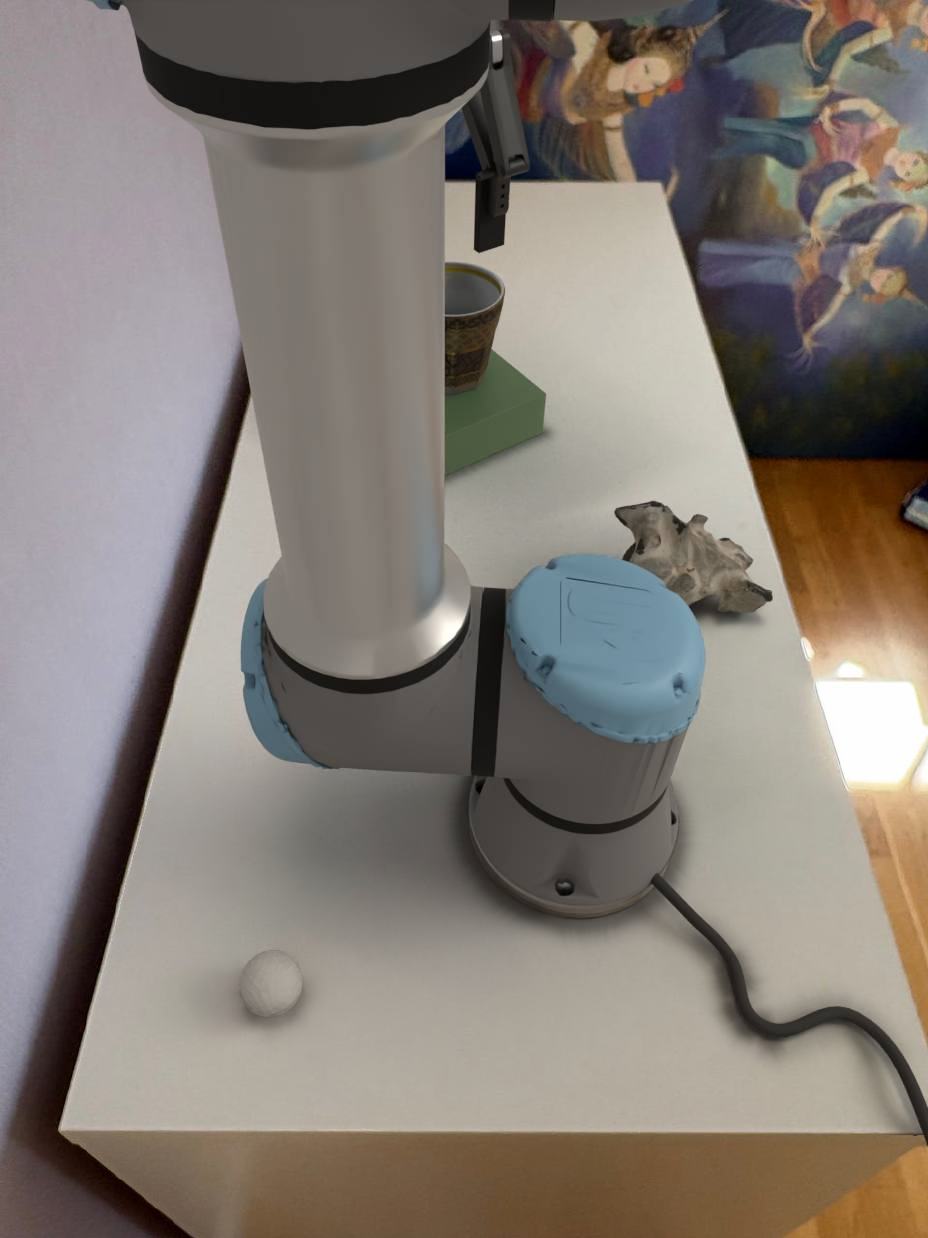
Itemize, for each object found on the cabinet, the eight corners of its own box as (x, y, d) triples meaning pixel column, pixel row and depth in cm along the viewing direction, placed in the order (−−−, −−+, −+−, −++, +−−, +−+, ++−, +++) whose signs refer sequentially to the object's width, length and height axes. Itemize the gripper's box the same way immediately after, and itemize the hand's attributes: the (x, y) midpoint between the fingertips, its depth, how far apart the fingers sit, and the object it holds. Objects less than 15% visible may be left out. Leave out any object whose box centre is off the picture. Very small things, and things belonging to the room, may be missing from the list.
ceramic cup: (424, 340, 103) (423, 253, 96) (513, 359, 101) (518, 272, 94) (377, 409, 95) (371, 319, 88) (471, 432, 93) (474, 342, 86)
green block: (542, 432, 101) (546, 393, 98) (423, 485, 96) (423, 445, 92) (461, 363, 109) (462, 324, 106) (347, 408, 104) (344, 368, 100)
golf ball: (233, 1013, 62) (222, 991, 59) (261, 956, 64) (252, 931, 61) (289, 1035, 61) (281, 1013, 58) (316, 975, 63) (309, 952, 60)
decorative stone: (779, 625, 80) (688, 673, 87) (779, 553, 86) (695, 604, 93) (645, 511, 75) (559, 572, 82) (655, 444, 81) (575, 505, 88)
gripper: (594, -31, 65) (564, 263, 81) (398, -111, 78) (405, 155, 94) (505, -13, 62) (492, 288, 78) (317, -99, 76) (338, 173, 91)
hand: (444, 216), depth 86 cm, fingers open, 13 cm apart
